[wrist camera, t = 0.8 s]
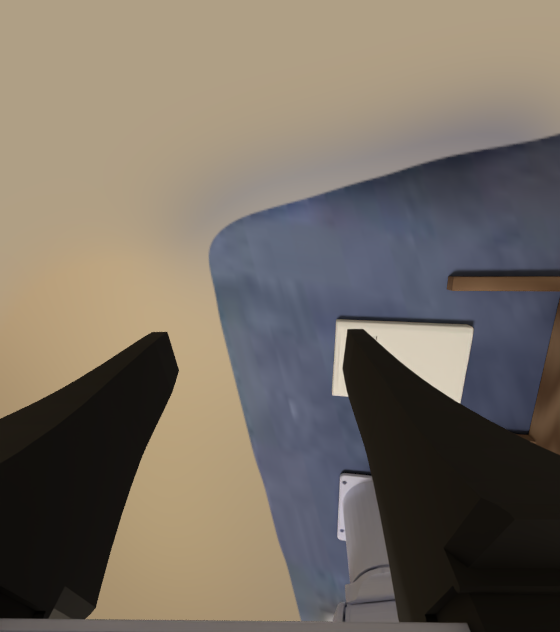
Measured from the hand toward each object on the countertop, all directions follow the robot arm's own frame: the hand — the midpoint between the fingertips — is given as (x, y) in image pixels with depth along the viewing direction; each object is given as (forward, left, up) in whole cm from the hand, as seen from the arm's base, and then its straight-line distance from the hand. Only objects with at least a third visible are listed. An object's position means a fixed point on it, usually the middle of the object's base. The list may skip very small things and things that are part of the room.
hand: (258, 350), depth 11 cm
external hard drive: (-7, -10, -17) cm, 21 cm away
